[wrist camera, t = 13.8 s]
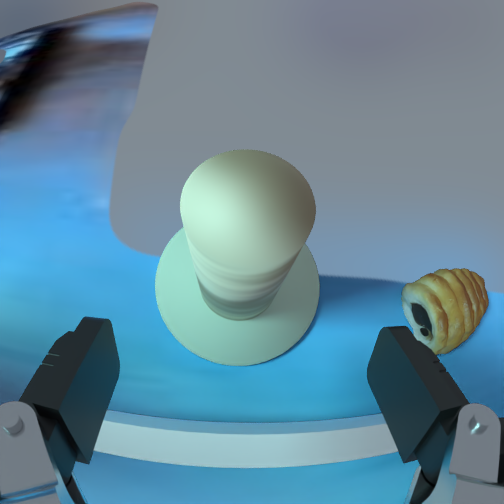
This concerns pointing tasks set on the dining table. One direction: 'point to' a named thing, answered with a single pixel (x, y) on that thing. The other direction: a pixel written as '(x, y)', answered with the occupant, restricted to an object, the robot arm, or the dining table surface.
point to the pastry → (445, 307)
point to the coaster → (230, 331)
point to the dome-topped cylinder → (245, 228)
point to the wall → (243, 441)
